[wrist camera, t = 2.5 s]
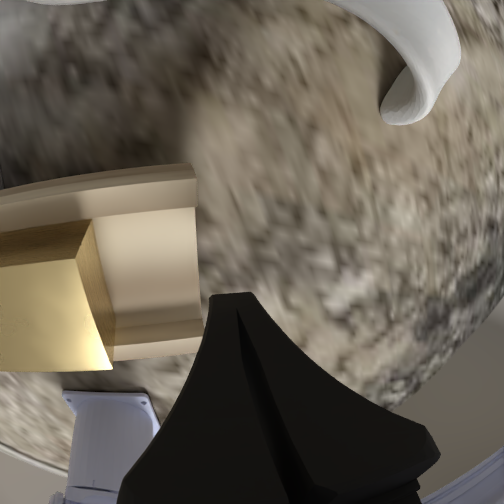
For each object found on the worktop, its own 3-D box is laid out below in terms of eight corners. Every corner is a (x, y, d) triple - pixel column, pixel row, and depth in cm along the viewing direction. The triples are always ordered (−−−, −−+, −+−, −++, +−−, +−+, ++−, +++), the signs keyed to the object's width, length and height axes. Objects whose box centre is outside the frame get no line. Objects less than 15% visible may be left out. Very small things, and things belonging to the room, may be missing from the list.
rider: (116, 319, 13) (112, 369, 11) (11, 327, 12) (-6, 370, 9) (92, 218, 11) (75, 258, 8) (-25, 237, 9) (-57, 274, 7)
